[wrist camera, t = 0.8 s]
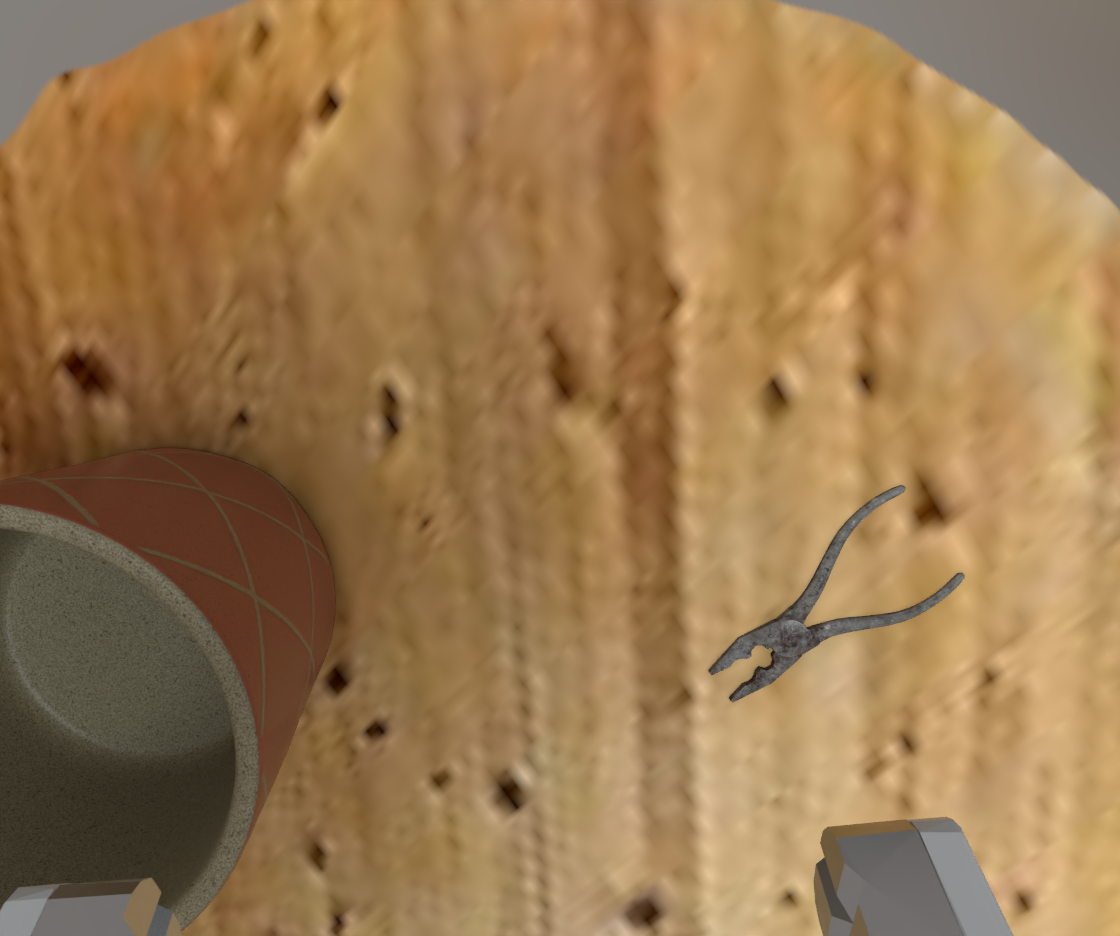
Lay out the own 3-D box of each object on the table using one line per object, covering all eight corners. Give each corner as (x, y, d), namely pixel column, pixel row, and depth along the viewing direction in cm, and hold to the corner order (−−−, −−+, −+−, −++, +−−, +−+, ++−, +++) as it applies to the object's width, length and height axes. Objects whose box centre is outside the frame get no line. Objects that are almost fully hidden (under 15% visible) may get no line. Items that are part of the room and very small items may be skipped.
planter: (77, 775, 61) (-182, 1048, 38) (-27, 470, 57) (-387, 569, 34) (388, 704, 62) (318, 931, 39) (306, 398, 58) (174, 447, 35)
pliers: (984, 561, 62) (795, 756, 64) (977, 558, 63) (792, 751, 65) (893, 475, 61) (703, 677, 62) (888, 473, 62) (700, 672, 63)
